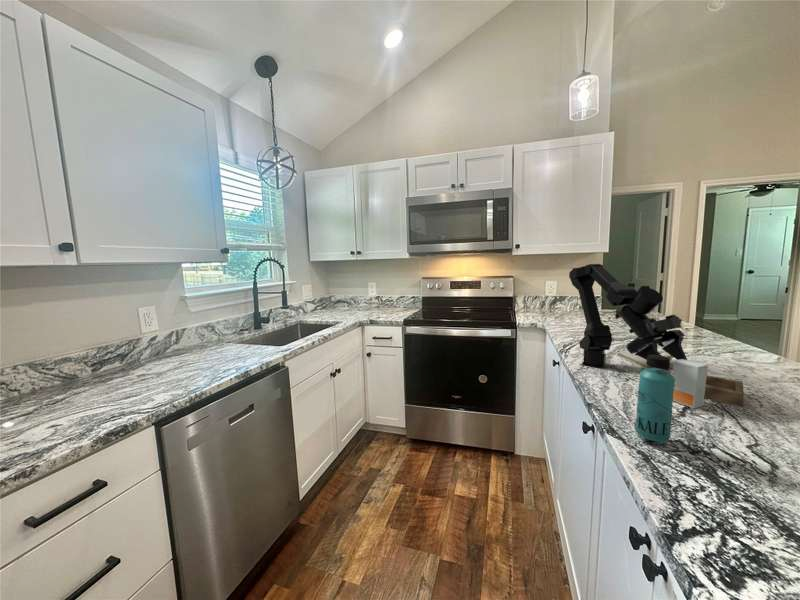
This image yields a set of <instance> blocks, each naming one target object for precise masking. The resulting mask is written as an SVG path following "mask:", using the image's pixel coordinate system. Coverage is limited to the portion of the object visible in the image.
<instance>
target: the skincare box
mask: <svg viewBox="0 0 800 600" xmlns="http://www.w3.org/2000/svg"><path fill="white" fill-rule="evenodd" d="M673 362H674V365H673V369H672V374H671V375H672V376H673V377H674V378H675V383H674V394H673V402H675V401H676V402H675V403H677V402H678V404H680V405H683V406H685V405H686V407H688V406H689V408H691V407H692V408H691V409H693V408H696V409H698V408H697V407H699V408H702V407H704V403H705V399H704V395H705V385H706V376H707V374H708V369H709V368H708V366H709V365H708V364H706V363H702V362H697V361H695V360H689V359H687V360H686V359H679V360H677V359H676V360H675V359H674V361H673ZM701 406H702V407H701Z"/></svg>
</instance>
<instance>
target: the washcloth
mask: <svg viewBox="0 0 800 600" xmlns="http://www.w3.org/2000/svg"><path fill="white" fill-rule="evenodd" d="M635 354H636V353H633V354H631V353H630V352H629V351H628V350H627V351H626V350H625V351H618V352H617V353H616V356H617V357H619V358H622V359H623V358H624V360H626V361H627V362H630V363H633V364H634V365H637V366H639V367H641V368H643V369H644V370H645V369H647V368H654V367H651V366H648V365H647V364H646V361H647V360H646V359H644V358H642V357H640V356H636V355H635ZM673 365H674V361H673V360H672V359H670V368H669V369H668V370H673ZM656 369H661V368H656ZM662 370H665V369H662ZM665 371H666V370H665Z"/></svg>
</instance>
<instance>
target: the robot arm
mask: <svg viewBox="0 0 800 600" xmlns="http://www.w3.org/2000/svg"><path fill="white" fill-rule="evenodd" d="M568 276H569V279H570V281H571V284H572V286H573V287H574V288H575V289H576V290H577V291H578V294H579V298H580V303H581V306H582V311H583V315H584V319H585V323H586V326H585V329H584V331H583V337H582V338H581V340H580V341H579V348H580V349H582V350H583V360H582V363H581V365H582V366H588V367H593V368H597V369H602V368H603V367H604V366H605V365H606V364H607V363H606V362H607V353H606V351H609V350H610V348H611V345H612V342H613V337H612V336H613V334H612V332H611V328H610V325H608V324H604V323H603V322H602V319H601V315H600V311H599V307H598V304H597V300H596V295H595V292H594V287H593V286H594V284H595V282H596V283H597V284H598V285H599V287H601V288H602V290H603V291H605V294H606V295H605V297H606V299H607V301H608V302H609V304H610V305H611V306H613V307H622V308H619V309H617V310H615V315H614V318H615V320H618V319H622V320H623V321H624V323H626V324H627V326H628V327H629V330H628V331H629V333H630V334H635V336H636V338H634V339H633V340H632V341H630V342H629V343H627V344H626V350H627V351H629V352H630V353H631V354H633V353H636V354H635V355H636V356H640V357H642V358H644V359H646V360H647V357H648V355H661V353H660V351H658V346H659V347H661V350H662V351H664V352H666V353H667V354H669V356H671V357H673V358H674V360H675V359H676V360H679V359H686V360H688V358H687V356H686V353H685V351H684V349H683V346H682V343H683V341H684V339H685V338H684V337H685V333H683V332H682V330H680V329H679V328H682V325H681V324H682V322H683V320H682V319H681V318H680V317H679V316H677V315H675V314H671V315H667V316H665V318H663V319H661V320H657V319H655V318H650V317H649V316H648V315H649V314H650V313H651V312H652V311H653V310H655V309H656V307H657V308H658V306H659V305H660V304H661V303H662V302H663V299H664V298H663V295H662V294H661V293H660V292H658V291H657V290H655V289H653V288H650V285H642V286H640V287H639V289H638V290H636V289H635V288H633V287H631V286H630V285H628V284H624V283H622V282H620V281H618V280H617V279H616V278H615V277H614V276H613V275H612V274H611V273H609V271H607V270H606V269H605V268H604V265H603V264H601V263H589V264H585V265H583V266H580V267H573V268H572V269H571V270H570V271H569V274H568ZM667 370H670V369H669V368H668V369H665V371H667Z"/></svg>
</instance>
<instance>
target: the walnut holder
mask: <svg viewBox="0 0 800 600" xmlns="http://www.w3.org/2000/svg"><path fill="white" fill-rule="evenodd" d="M743 382H744V381H743V380H737V379H733V378H726V377H718V376H715V375H714V376H713V375H707V376H706V385H705V395H704V398H706V399H705V400H708V399H710V401H713V400H714V401H715V402H719V403H723V404H728V405H733V406H738V407H743V406H744V398H745V393H744V384H743Z"/></svg>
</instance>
